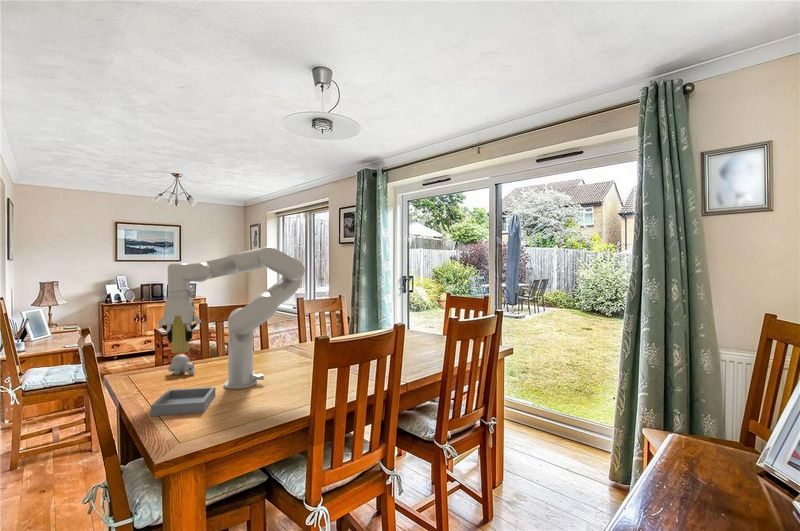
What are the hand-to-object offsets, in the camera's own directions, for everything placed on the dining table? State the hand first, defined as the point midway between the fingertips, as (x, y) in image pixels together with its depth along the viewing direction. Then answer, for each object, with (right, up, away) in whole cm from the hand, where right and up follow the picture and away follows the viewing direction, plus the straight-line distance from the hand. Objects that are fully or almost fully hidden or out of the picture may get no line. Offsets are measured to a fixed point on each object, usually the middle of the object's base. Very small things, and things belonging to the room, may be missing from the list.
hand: (180, 340), depth 150 cm
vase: (0, -4, 0) cm, 4 cm away
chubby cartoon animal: (-12, -20, +23) cm, 32 cm away
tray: (+10, -20, -14) cm, 26 cm away
